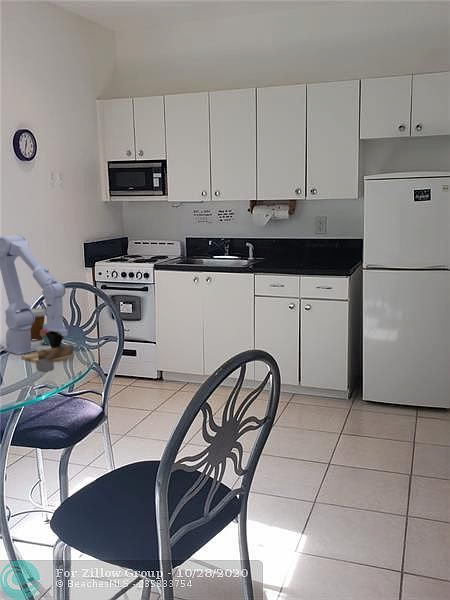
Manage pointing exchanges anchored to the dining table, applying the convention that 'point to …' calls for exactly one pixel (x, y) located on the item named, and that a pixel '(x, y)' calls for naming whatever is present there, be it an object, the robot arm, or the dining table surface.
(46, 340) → the cupcake
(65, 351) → the hinged leg
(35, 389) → the dining table surface
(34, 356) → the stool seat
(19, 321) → the robot arm
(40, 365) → the stop block
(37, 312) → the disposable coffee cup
